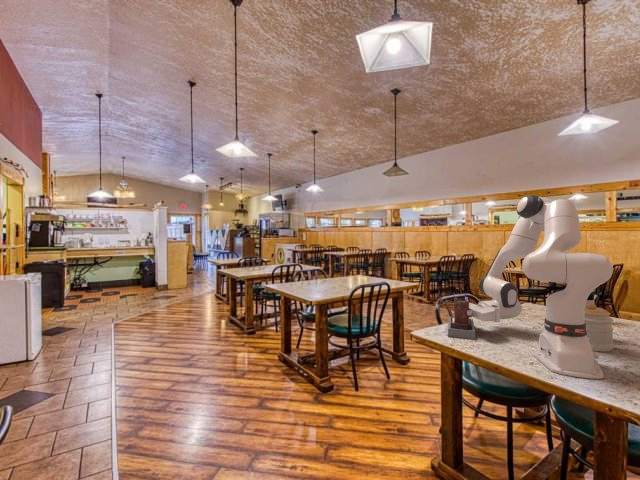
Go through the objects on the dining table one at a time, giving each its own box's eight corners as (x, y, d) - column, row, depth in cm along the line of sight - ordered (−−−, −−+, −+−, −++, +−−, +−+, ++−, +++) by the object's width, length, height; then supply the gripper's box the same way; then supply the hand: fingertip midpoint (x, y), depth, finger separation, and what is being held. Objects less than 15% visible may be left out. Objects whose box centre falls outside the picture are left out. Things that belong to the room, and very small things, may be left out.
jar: (568, 346, 129) (569, 303, 128) (573, 338, 138) (573, 298, 138) (612, 355, 120) (613, 308, 119) (613, 346, 129) (614, 302, 129)
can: (471, 333, 144) (471, 302, 144) (457, 333, 145) (456, 302, 145) (466, 328, 150) (466, 299, 150) (452, 328, 151) (452, 299, 151)
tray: (475, 339, 139) (475, 331, 139) (448, 336, 143) (447, 328, 143) (472, 325, 159) (472, 318, 159) (449, 323, 164) (449, 316, 164)
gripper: (472, 299, 159) (446, 300, 157) (502, 308, 139) (473, 310, 136) (472, 311, 159) (446, 313, 157) (502, 323, 139) (473, 325, 137)
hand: (459, 312), depth 146 cm, fingers closed
